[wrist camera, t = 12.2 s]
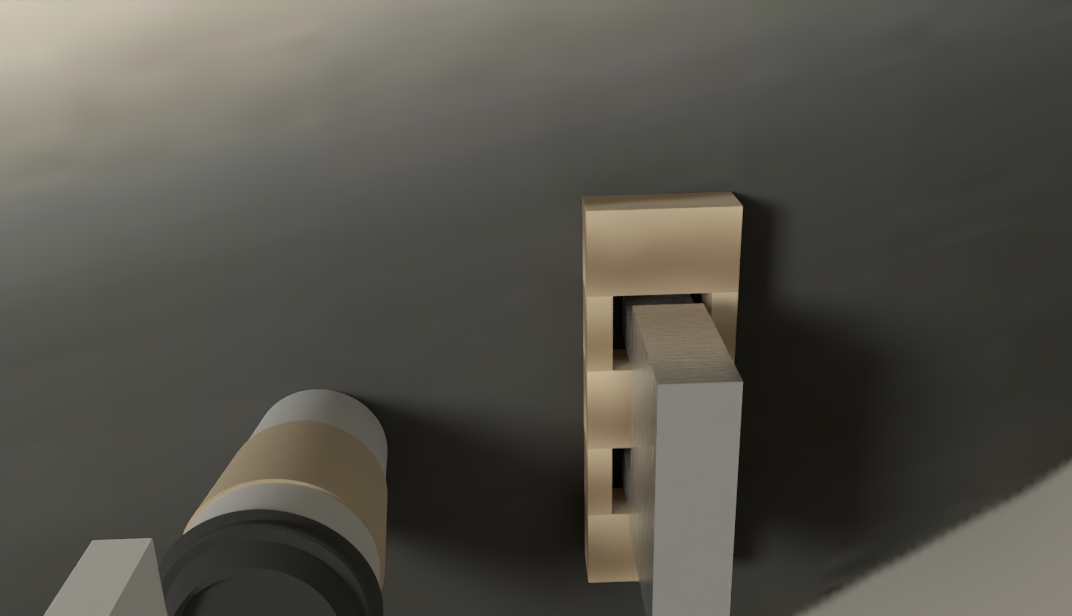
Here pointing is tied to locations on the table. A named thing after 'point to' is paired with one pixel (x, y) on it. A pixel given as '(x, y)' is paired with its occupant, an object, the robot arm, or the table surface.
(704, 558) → the grey flat block
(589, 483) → the wooden ladder frame
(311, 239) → the table surface
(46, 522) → the table surface
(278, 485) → the coffee cup
